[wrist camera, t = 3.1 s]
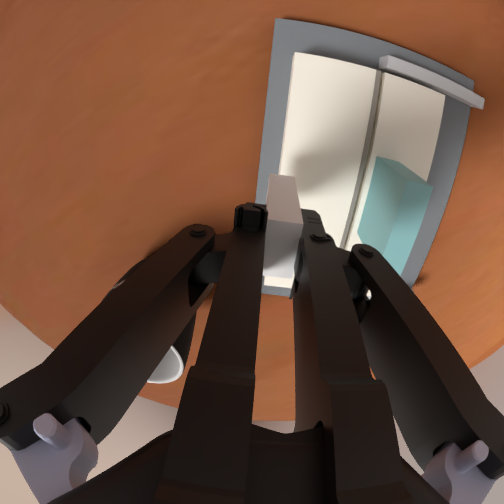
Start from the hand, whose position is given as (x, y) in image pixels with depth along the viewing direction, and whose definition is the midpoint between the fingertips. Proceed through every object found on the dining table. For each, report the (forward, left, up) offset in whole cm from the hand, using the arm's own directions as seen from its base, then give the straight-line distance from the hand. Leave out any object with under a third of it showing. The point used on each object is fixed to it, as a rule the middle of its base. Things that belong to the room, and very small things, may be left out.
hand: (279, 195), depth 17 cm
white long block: (0, +8, -4) cm, 9 cm away
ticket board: (0, +7, -6) cm, 9 cm away
